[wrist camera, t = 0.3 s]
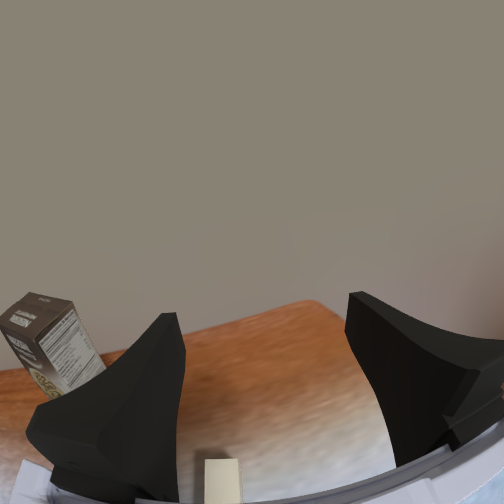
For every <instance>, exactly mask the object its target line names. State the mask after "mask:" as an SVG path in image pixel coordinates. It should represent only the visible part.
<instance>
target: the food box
mask: <svg viewBox="0 0 504 504" xmlns="http://www.w3.org/2000/svg"><path fill="white" fill-rule="evenodd" d="M0 330H1V332H2V333H3V335H4V337H5V338H6V340H7V342H8V343H9V345H10V346H11V348H12V350H13V351H14V353H15V354H16V356H17V357H18V359H19V360H20V361H21V363H22V364H23V366H24V367H25V368H26V370H27V371H28V373H29V374H30V375H31V377H32V378H33V379H34V381H35V382H36V383H37V384H38V386H39V387H40V388H41V390H42V391H43V392H44V393H45V394H46V396H47V397H48V398H49V399H50V400H53V399H55V398H58V397H60V396H62V395H64V394H66V393H68V392H70V391H72V390H74V389H76V388H78V387H80V386H81V385H83V384H85V383H86V382H88V381H89V380H91V379H92V378H94V377H95V376H97V375H98V374H100V373H101V372H102V371H104V370H105V369H106V366H105V365H104V363H103V361H102V360H101V358H100V356H99V354H98V352H97V351H96V349H95V347H94V345H93V343H92V341H91V339H90V337H89V335H88V333H87V331H86V329H85V327H84V325H83V324H82V322H81V319H80V317H79V315H78V313H77V311H76V308H75V306H74V304H73V302H72V301H68V300H62V299H58V298H53V297H48V296H44V295H39V294H35V293H31V292H29V293H28V294H26V295H25V296H24V297H23V298H22V299H21V300H20V301H18V302H16V303H15V304H14V305H12V306H11V307H10V308H9V309H7V310H6V312H4V313H3V314H2V315H1V316H0Z"/></svg>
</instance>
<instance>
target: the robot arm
mask: <svg viewBox="0 0 504 504" xmlns="http://www.w3.org/2000/svg"><path fill="white" fill-rule="evenodd" d="M345 334H346V337H347V339H348V342H349V345H350V347H351V350H352V352H353V354H354V355H355V357H356V359H357V361H358V363H359V365H360V366H361V368H362V370H363V372H364V374H365V375H366V377H367V379H368V381H369V383H370V384H371V386H372V388H373V390H374V392H375V395H376V397H377V400H378V402H379V405H380V408H381V410H382V413H383V416H384V419H385V423H386V426H387V429H388V432H389V436H390V440H391V444H392V448H393V453H394V457H395V463H396V468H395V469H393V470H390V471H388V472H385V473H383V474H380V475H377V476H374V477H372V478H369V479H366V480H363V481H359V482H356V483H353V484H350V485H346V486H343V487H339V488H335V489H331V490H327V491H323V492H319V493H314V494H309V495H304V496H299V497H293V498H287V499H280V500H272V501H264V502H253V503H239V504H458V503H460V502H461V501H463V500H464V499H466V498H467V497H469V496H470V495H471V494H473V493H474V492H476V491H477V490H478V489H480V488H481V487H482V486H484V485H485V484H486V483H487V482H489V481H490V480H491V479H492V478H494V477H495V476H496V475H497V474H498V473H499V472H501V471H502V470H503V469H504V400H503V398H502V397H501V396H502V395H503V394H504V391H503V390H502V388H501V387H500V386H501V385H502V383H503V382H504V340H495V339H482V338H476V337H470V336H465V335H460V334H456V333H453V332H449V331H445V330H443V329H440V328H437V327H434V326H432V325H429V324H426V323H424V322H422V321H419V320H417V319H415V318H413V317H411V316H408V315H407V314H405V313H403V312H401V311H399V310H397V309H395V308H393V307H391V306H390V305H388V304H386V303H384V302H382V301H381V300H379V299H377V298H375V297H373V296H371V295H369V294H367V293H365V292H363V291H361V292H354V293H349V302H348V310H347V318H346V324H345ZM185 358H186V349H185V345H184V342H183V338H182V334H181V331H180V327H179V323H178V319H177V315H176V312H174V313H162V314H160V315H159V317H158V318H157V319H156V320H155V321H154V322H153V323H152V324H151V325H150V327H149V328H148V329H147V330H146V331H145V332H144V333H143V334H142V336H141V337H140V338H139V339H138V340H137V341H136V342H135V343H134V344H133V345H132V346H131V347H130V348H129V349H128V350H127V351H126V352H125V353H124V354H123V355H122V356H121V357H119V358H118V359H117V360H116V361H115V362H114V363H113V364H111V365H110V366H109V367H108V368H106V369H105V370H104V371H102V372H101V373H100V374H98V375H97V376H95V377H94V378H92V379H91V380H89V381H88V382H86V383H85V384H83V385H81V386H80V387H78V388H76V389H74V390H72V391H70V392H68V393H66V394H64V395H62V396H60V397H58V398H55V399H53V400H50V401H48V402H45V403H43V404H40V405H38V406H37V408H36V410H35V412H34V414H33V416H32V418H31V420H30V423H29V425H28V427H27V429H26V431H25V432H26V436H27V438H28V440H29V441H30V443H31V444H32V445H33V446H34V447H35V448H36V449H37V450H38V451H39V452H40V453H41V454H42V455H43V456H44V457H46V458H47V459H48V460H49V461H50V462H51V463H52V464H54V468H53V471H51V470H49V469H47V468H46V467H43V466H41V465H38V464H36V463H34V462H31V461H29V460H27V459H23V461H22V464H21V467H20V470H19V472H18V475H17V478H16V481H15V484H14V488H13V491H12V494H11V498H10V501H9V504H186V503H179V494H178V484H177V468H176V424H177V414H178V408H179V402H180V396H181V390H182V385H183V379H184V373H185Z"/></svg>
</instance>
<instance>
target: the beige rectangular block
mask: <svg viewBox="0 0 504 504" xmlns="http://www.w3.org/2000/svg"><path fill="white" fill-rule="evenodd" d="M239 503H244V492H243V476H242V467H241V465H240V462H239V460H238V458H235V459H205V504H239Z"/></svg>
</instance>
